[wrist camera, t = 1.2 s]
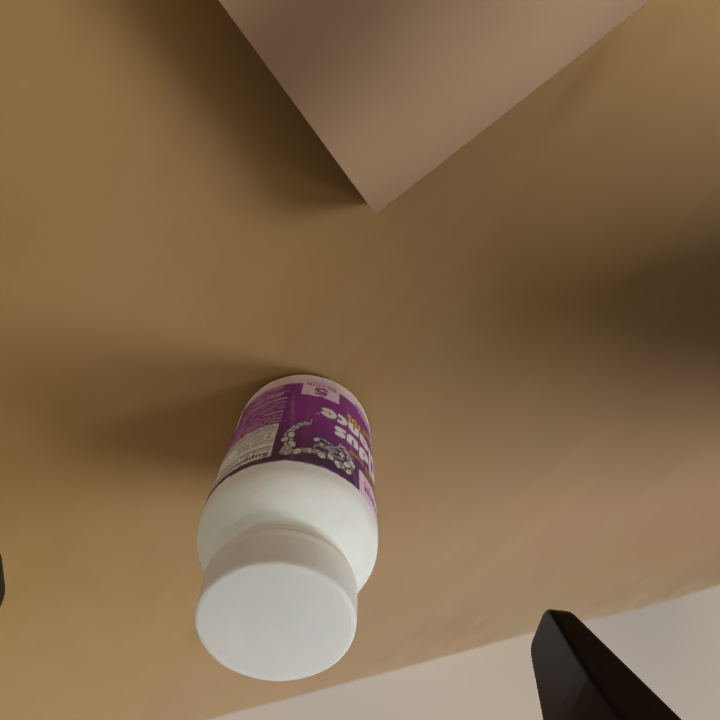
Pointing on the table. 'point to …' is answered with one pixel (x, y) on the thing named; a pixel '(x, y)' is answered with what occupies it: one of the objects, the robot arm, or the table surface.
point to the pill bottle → (288, 532)
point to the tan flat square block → (414, 71)
